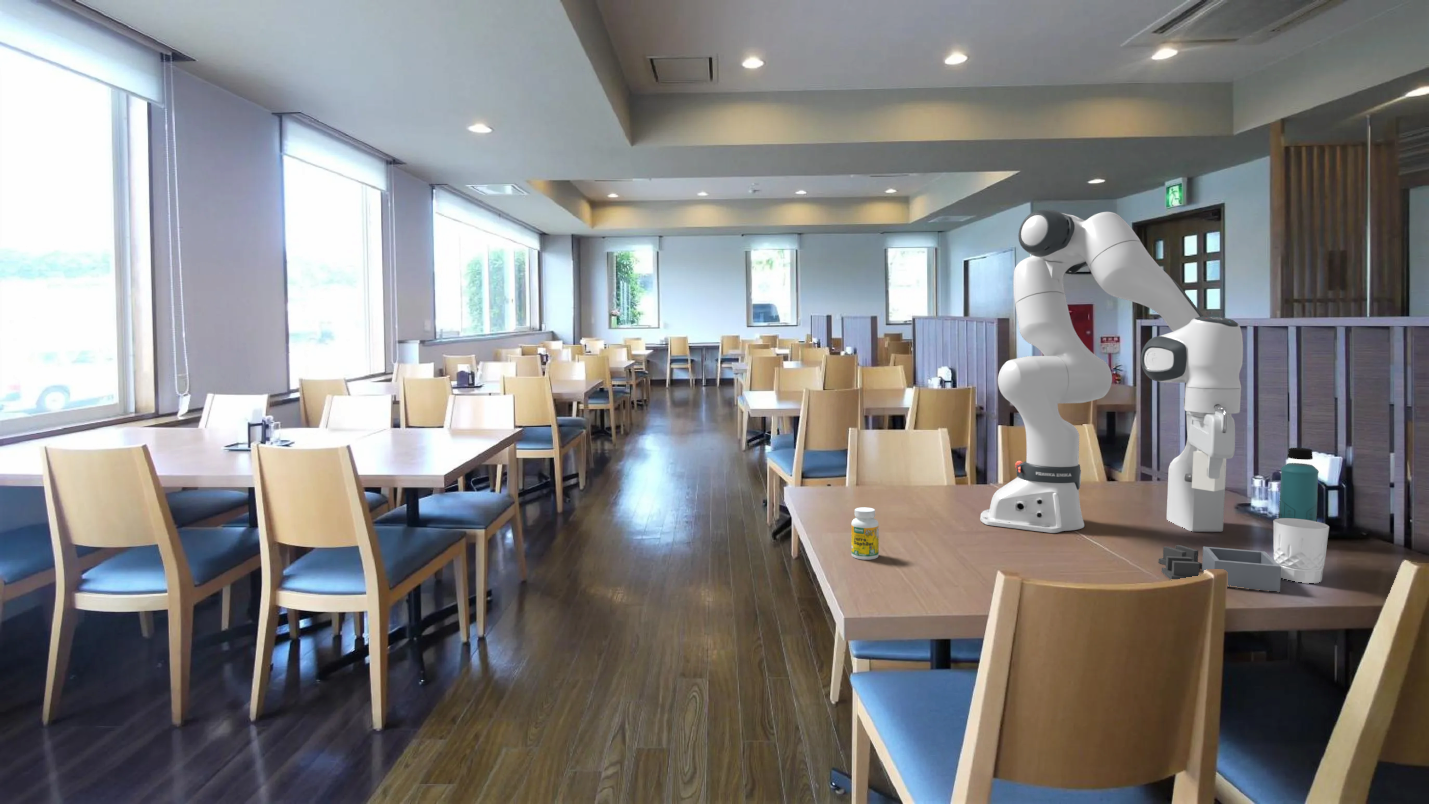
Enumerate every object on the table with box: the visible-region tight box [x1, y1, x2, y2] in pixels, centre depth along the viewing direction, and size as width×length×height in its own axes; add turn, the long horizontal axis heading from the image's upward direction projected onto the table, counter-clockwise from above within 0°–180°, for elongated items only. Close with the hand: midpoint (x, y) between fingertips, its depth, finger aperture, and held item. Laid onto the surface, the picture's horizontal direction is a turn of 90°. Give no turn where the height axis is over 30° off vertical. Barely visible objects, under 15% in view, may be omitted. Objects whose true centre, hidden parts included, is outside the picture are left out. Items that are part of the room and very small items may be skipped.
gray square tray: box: [1201, 546, 1281, 593], centre depth 136 cm, size 10×10×4 cm
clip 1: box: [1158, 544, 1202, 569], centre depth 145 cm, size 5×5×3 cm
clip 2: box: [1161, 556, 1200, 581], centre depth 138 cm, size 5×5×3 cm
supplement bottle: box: [850, 506, 880, 561], centre depth 153 cm, size 5×5×10 cm
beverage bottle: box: [1277, 447, 1319, 522], centre depth 159 cm, size 6×7×20 cm
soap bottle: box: [1166, 411, 1227, 533], centre depth 173 cm, size 11×8×27 cm
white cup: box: [1272, 518, 1330, 584], centre depth 137 cm, size 8×8×10 cm
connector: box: [1184, 451, 1227, 491], centre depth 147 cm, size 6×4×7 cm, turn 32°
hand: (1208, 474), depth 146 cm, fingers closed on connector, 6 cm apart
